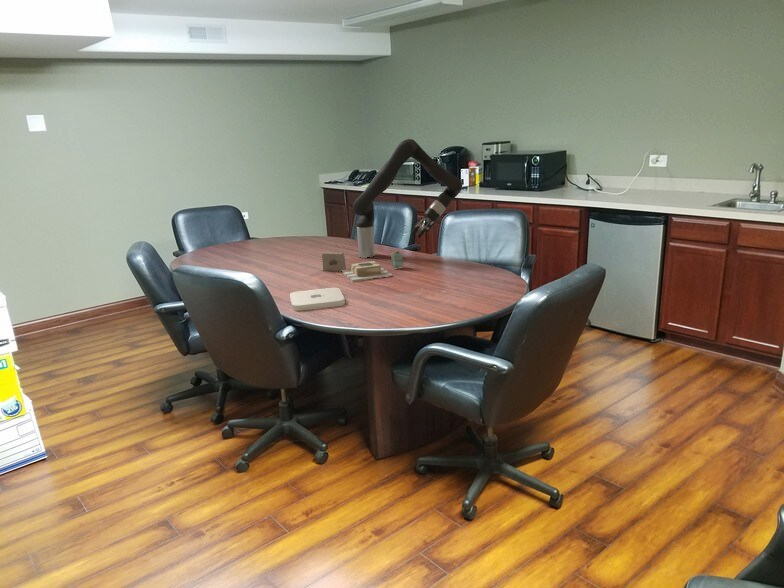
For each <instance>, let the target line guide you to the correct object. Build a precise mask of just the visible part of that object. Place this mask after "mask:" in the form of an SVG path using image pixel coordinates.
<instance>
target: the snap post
mask: <svg viewBox="0 0 784 588" xmlns="http://www.w3.org/2000/svg"><path fill="white" fill-rule="evenodd" d="M391 267H394V268H399V267H403V268H404V261H403V253H402V252H400V251H399V250H396V251H394V252H391Z"/></svg>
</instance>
